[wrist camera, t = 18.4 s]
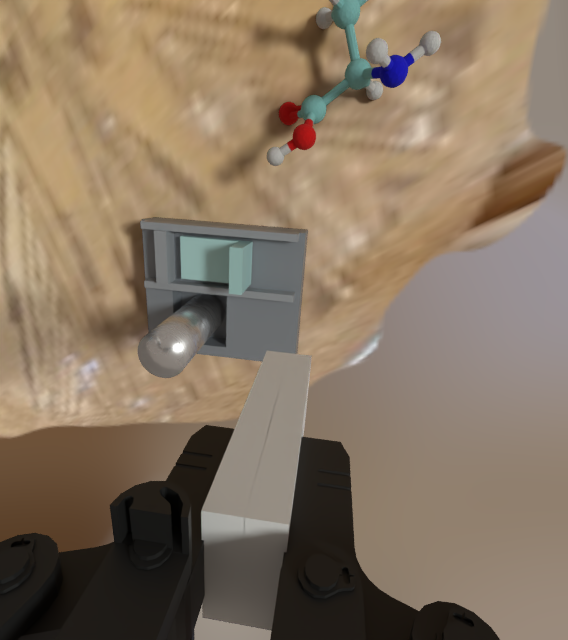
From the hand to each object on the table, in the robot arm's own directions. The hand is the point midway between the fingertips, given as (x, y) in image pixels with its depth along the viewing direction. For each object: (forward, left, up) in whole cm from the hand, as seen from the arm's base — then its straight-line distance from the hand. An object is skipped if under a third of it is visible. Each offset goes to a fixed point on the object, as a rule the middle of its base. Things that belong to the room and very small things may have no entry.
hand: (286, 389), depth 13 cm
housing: (-8, -3, -22) cm, 24 cm away
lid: (-8, 0, -20) cm, 21 cm away
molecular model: (+1, +14, -23) cm, 27 cm away
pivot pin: (-10, -6, -22) cm, 25 cm away
